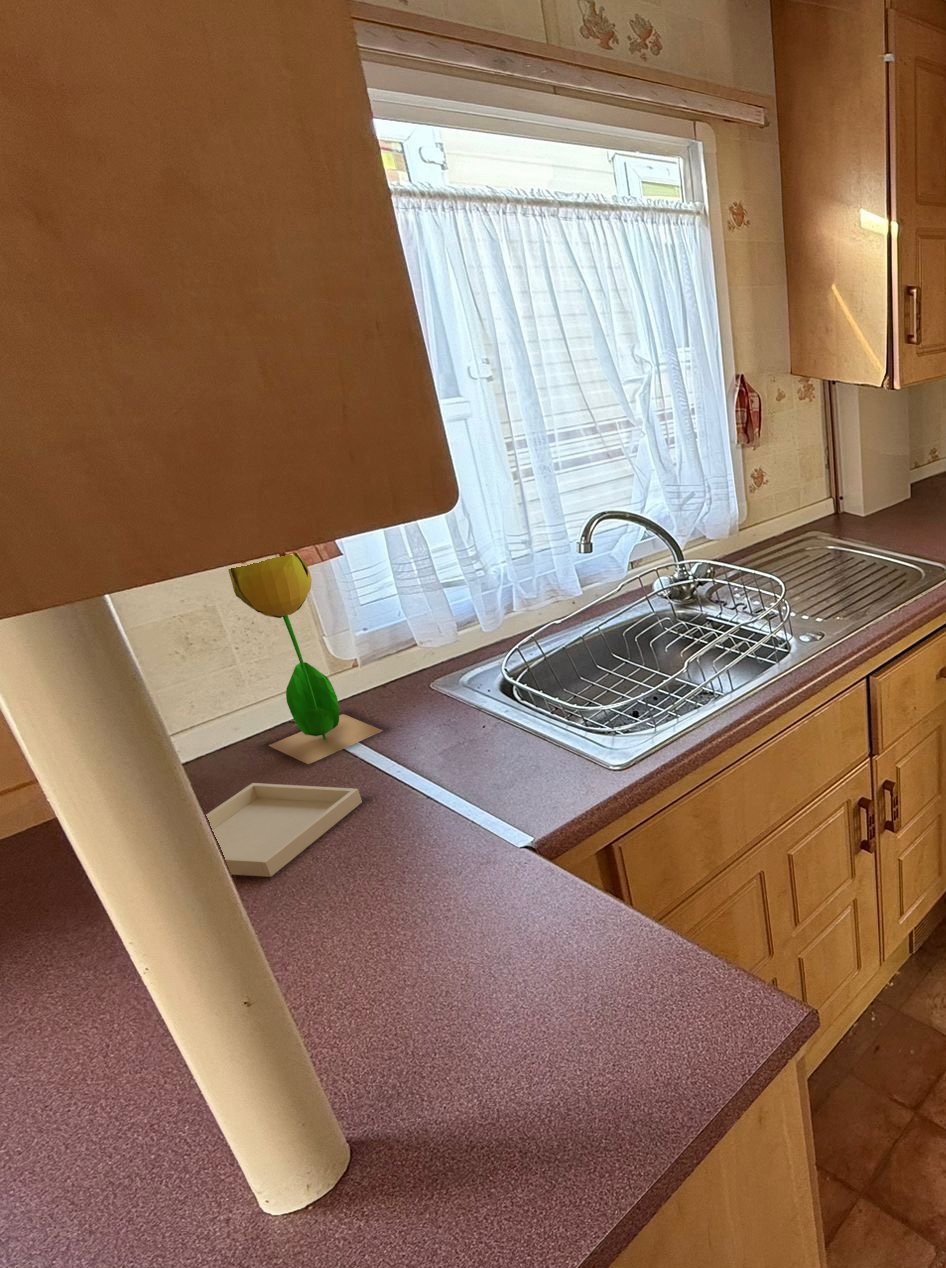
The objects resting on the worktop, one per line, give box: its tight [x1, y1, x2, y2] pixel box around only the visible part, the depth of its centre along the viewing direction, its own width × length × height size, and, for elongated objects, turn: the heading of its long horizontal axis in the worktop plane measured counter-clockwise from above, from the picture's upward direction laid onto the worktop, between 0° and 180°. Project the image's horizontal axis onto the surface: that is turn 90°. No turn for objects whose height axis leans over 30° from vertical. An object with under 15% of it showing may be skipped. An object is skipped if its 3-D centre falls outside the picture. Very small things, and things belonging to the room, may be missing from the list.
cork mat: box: [267, 713, 384, 765], centre depth 125 cm, size 10×10×1 cm
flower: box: [227, 552, 340, 739], centre depth 119 cm, size 9×8×30 cm
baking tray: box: [205, 782, 363, 878], centre depth 106 cm, size 14×14×3 cm
